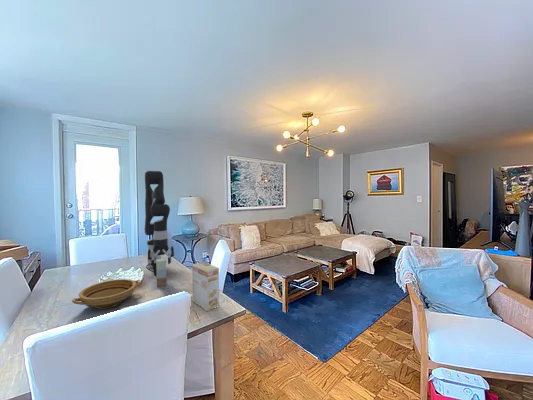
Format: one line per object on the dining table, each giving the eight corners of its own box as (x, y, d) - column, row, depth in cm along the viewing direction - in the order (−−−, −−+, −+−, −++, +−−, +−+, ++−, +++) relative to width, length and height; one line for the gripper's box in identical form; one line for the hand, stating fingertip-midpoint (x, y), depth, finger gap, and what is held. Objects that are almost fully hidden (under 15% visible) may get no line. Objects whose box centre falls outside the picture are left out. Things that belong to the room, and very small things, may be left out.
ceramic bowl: (130, 287, 137) (129, 274, 137) (150, 299, 123) (149, 284, 122) (65, 307, 114) (64, 291, 114) (80, 324, 99) (80, 306, 99)
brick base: (156, 284, 140) (156, 276, 140) (165, 282, 142) (165, 274, 142) (157, 287, 136) (157, 278, 135) (166, 285, 138) (166, 277, 138)
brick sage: (156, 267, 139) (156, 259, 139) (165, 266, 142) (165, 258, 142) (157, 270, 135) (156, 261, 135) (166, 268, 138) (166, 260, 137)
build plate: (150, 284, 141) (150, 283, 141) (171, 281, 147) (171, 279, 147) (150, 292, 131) (150, 290, 131) (173, 288, 136) (173, 286, 136)
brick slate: (156, 275, 140) (156, 267, 140) (165, 274, 142) (165, 266, 142) (157, 278, 135) (157, 270, 135) (166, 277, 138) (166, 268, 138)
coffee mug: (169, 273, 161) (168, 259, 160) (162, 278, 152) (162, 263, 152) (153, 273, 162) (152, 258, 161) (145, 277, 153) (145, 262, 153)
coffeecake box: (219, 306, 115) (219, 267, 114) (206, 312, 110) (206, 271, 109) (204, 296, 125) (204, 261, 125) (192, 301, 120) (191, 264, 120)
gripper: (172, 235, 144) (173, 261, 145) (147, 237, 138) (147, 265, 138) (174, 237, 138) (174, 264, 138) (147, 240, 131) (147, 268, 132)
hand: (161, 264), depth 138 cm, fingers open, 8 cm apart
